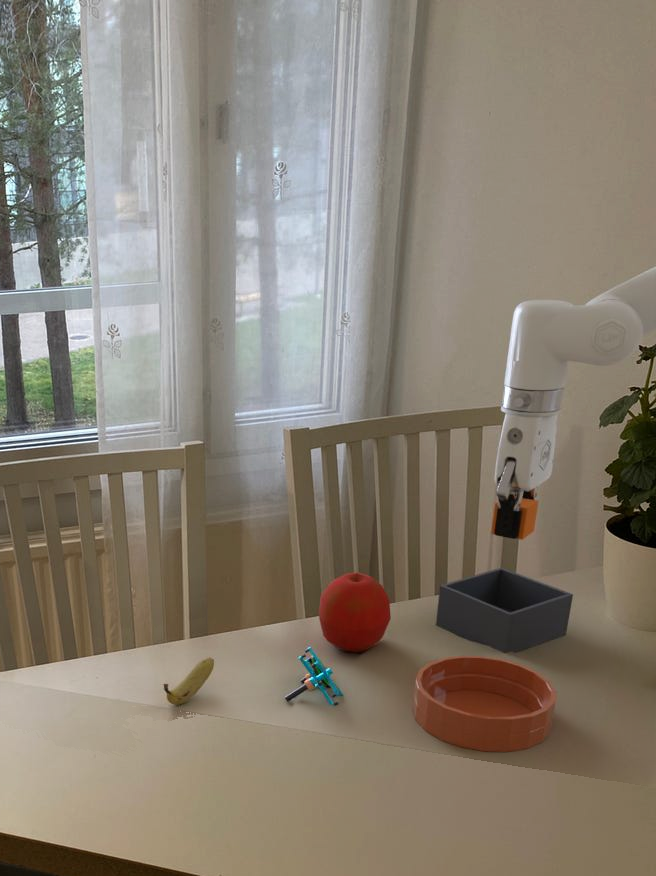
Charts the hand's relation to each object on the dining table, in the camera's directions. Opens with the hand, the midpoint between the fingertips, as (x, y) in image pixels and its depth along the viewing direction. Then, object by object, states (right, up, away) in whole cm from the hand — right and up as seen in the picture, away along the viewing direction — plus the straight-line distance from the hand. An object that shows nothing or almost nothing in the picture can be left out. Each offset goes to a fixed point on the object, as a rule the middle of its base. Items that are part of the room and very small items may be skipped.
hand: (513, 530), depth 128 cm
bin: (+1, -14, +9) cm, 16 cm away
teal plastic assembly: (-30, -23, -8) cm, 38 cm away
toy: (0, 0, 0) cm, 0 cm away
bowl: (-10, -26, -15) cm, 31 cm away
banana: (-46, -23, -8) cm, 52 cm away
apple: (-22, -17, +5) cm, 28 cm away
